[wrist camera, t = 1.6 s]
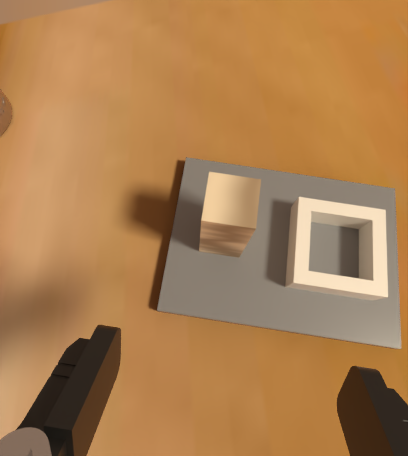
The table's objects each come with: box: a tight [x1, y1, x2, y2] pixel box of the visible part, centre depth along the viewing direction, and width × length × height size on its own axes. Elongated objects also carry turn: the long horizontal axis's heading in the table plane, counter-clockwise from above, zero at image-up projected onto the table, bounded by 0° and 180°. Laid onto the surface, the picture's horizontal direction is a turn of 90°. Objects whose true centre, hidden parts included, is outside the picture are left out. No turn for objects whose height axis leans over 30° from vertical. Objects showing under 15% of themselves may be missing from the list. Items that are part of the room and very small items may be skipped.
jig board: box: [157, 157, 401, 349], centre depth 35 cm, size 25×18×4 cm
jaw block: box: [199, 172, 261, 258], centre depth 31 cm, size 4×4×10 cm
